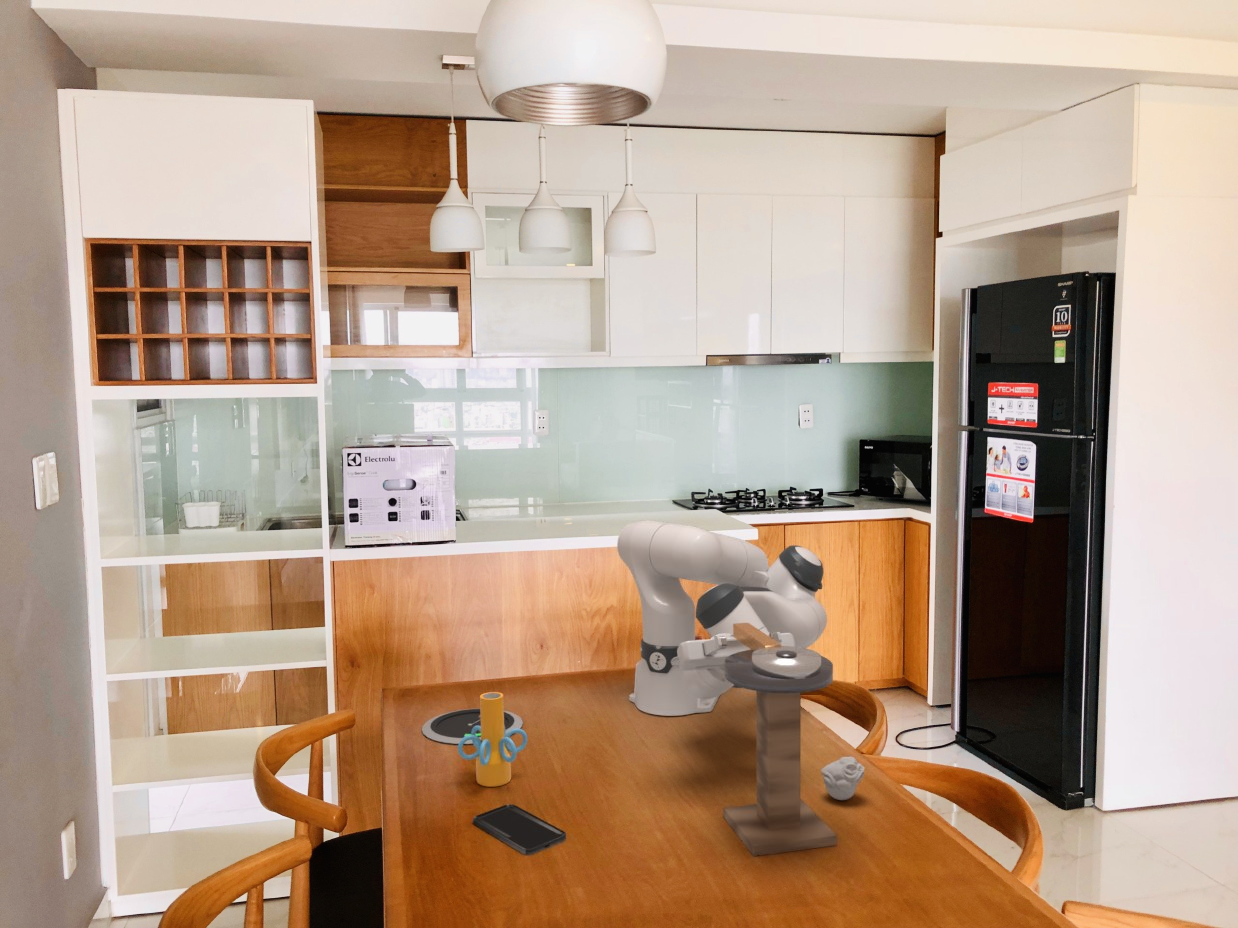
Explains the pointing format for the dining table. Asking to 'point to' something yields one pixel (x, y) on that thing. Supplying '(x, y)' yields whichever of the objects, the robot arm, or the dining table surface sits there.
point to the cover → (777, 655)
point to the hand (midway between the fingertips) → (749, 638)
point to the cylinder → (492, 743)
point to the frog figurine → (842, 777)
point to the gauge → (462, 726)
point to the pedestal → (777, 764)
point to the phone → (519, 829)
